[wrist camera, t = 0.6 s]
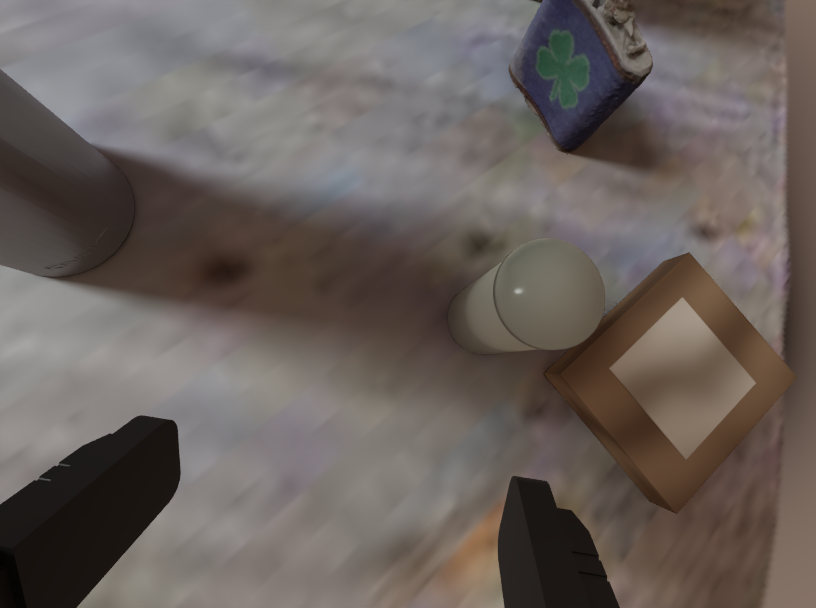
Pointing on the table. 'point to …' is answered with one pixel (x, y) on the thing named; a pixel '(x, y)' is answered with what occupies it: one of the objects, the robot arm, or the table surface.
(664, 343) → the pedestal
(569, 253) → the canister
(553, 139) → the flask
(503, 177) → the table surface
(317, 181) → the table surface
